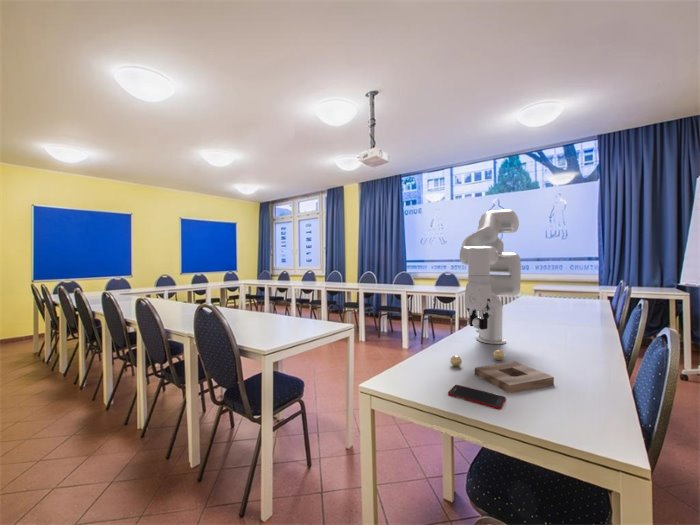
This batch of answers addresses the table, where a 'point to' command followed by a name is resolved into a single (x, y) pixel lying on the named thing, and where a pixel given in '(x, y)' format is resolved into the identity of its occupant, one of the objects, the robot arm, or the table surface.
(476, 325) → the steel ball
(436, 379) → the table surface
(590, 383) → the table surface
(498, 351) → the brass ball
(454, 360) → the brass ball
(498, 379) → the pocket plate
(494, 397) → the cell phone
